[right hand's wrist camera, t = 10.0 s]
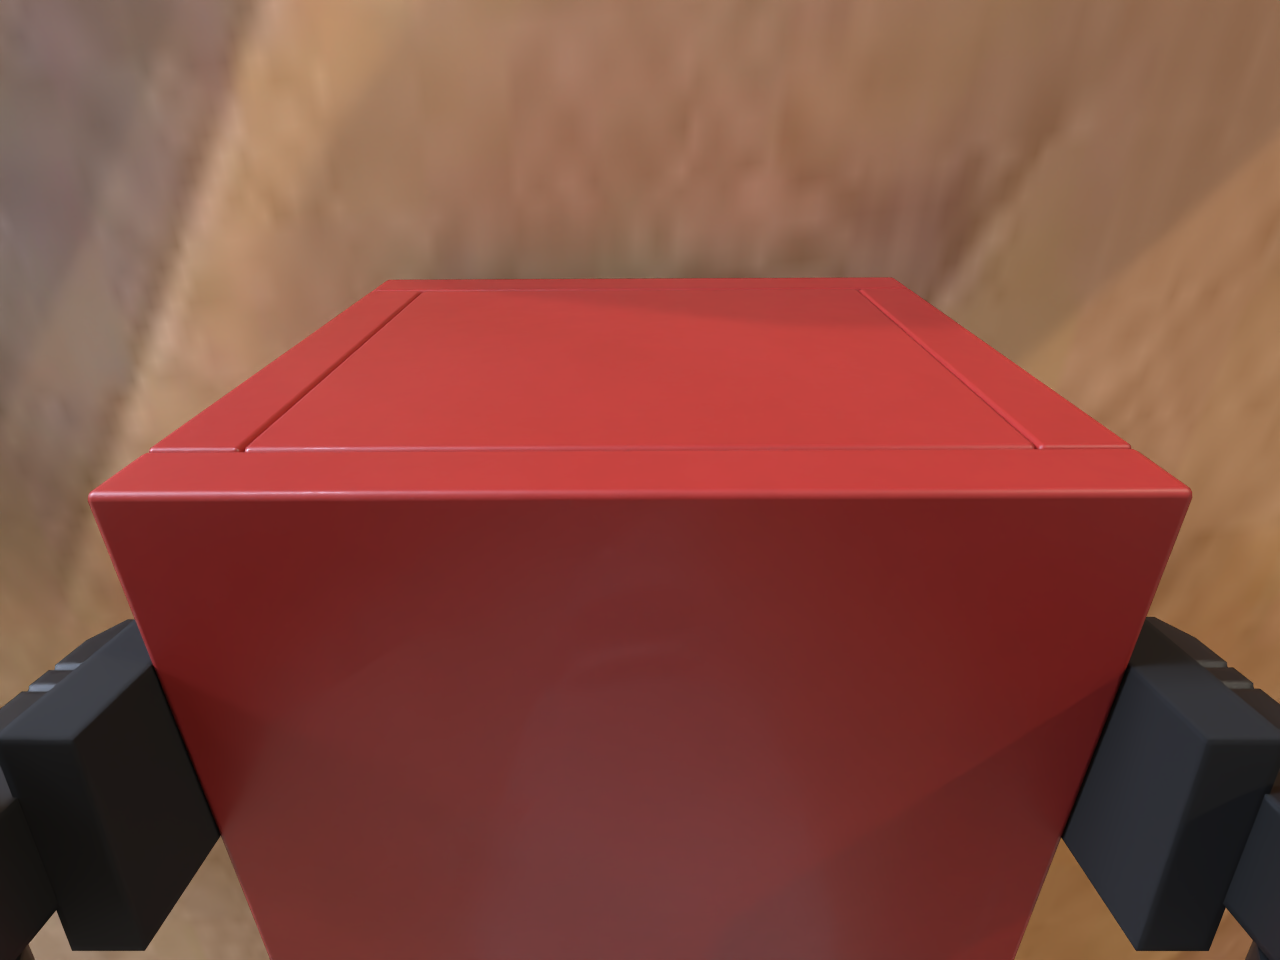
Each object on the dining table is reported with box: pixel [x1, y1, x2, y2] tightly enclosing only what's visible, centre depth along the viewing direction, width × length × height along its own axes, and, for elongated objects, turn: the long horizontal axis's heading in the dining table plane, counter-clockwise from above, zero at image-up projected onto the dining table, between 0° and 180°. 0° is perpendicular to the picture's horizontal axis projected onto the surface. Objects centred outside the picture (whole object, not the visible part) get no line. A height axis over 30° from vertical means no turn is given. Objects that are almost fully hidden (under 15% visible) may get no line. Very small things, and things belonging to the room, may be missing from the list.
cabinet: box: [88, 278, 1192, 960], centre depth 14 cm, size 13×10×9 cm
